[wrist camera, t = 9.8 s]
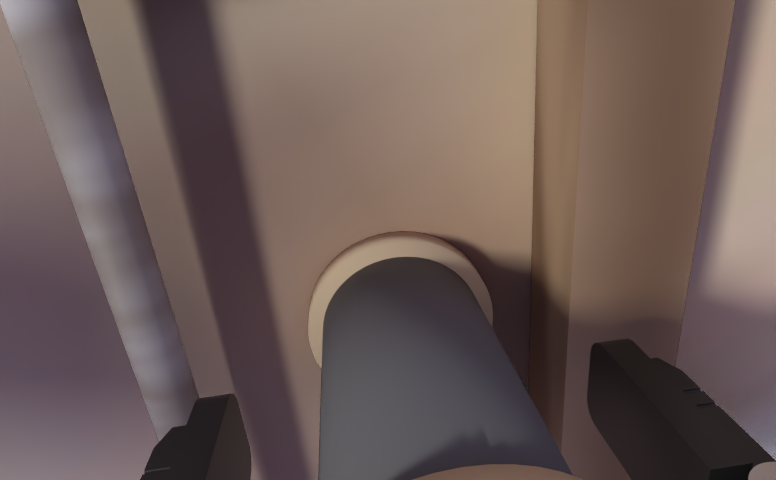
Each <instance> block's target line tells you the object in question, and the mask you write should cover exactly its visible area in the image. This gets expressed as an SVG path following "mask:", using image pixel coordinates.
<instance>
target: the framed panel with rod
mask: <svg viewBox="0 0 776 480" xmlns="http://www.w3.org/2000/svg"><path fill="white" fill-rule="evenodd" d="M0 5H1V7H2V10H3V13H4V16H5V18H6V21H7V24H8V27H9V30H10V32H11V35H12V38H13V41H14V43H15V46H16V49H17V52H18V54H19V57H20V60H21V63H22V65H23V68H24V71H25V74H26V76H27V79H28V82H29V85H30V87H31V90H32V93H33V96H34V98H35V101H36V104H37V107H38V109H39V112H40V115H41V118H42V121H43V123H44V126H45V129H46V132H47V134H48V137H49V140H50V143H51V145H52V148H53V151H54V154H55V156H56V159H57V162H58V165H59V167H60V170H61V173H62V176H63V178H64V181H65V184H66V187H67V189H68V192H69V195H70V198H71V201H72V203H73V206H74V209H75V212H76V214H77V217H78V220H79V223H80V225H81V228H82V231H83V234H84V236H85V239H86V242H87V245H88V247H89V250H90V253H91V256H92V258H93V261H94V264H95V267H96V269H97V272H98V275H99V278H100V280H101V283H102V286H103V289H104V292H105V294H106V297H107V300H108V303H109V305H110V308H111V311H112V314H113V316H114V319H115V322H116V325H117V327H118V330H119V333H120V336H121V338H122V341H123V344H124V347H125V349H126V352H127V355H128V358H129V360H130V363H131V366H132V369H133V371H134V374H135V377H136V380H137V383H138V385H139V388H140V391H141V394H142V396H143V399H144V402H145V405H146V407H147V410H148V413H149V416H150V418H151V421H152V424H153V427H154V429H155V432H156V435H157V438H158V440H159V442H160V441H161V439H162V438H163V437H164V436H165V435H166V434H167V433H168V432H169V431H170V429H171V428H172V427H177V426H184V425H187V422H188V419H189V417H190V414H191V411H192V409H193V406H194V403H195V401H196V400H197V399H199V396H198V393H197V390H196V386H195V383H194V380H193V377H192V373H191V370H190V367H189V363H188V360H187V357H186V354H185V350H184V347H183V344H182V341H181V337H180V334H179V331H178V328H177V324H176V321H175V318H174V315H173V311H172V308H171V305H170V301H169V298H168V295H167V292H166V288H165V285H164V282H163V279H162V275H161V272H160V269H159V266H158V262H157V259H156V256H155V253H154V249H153V246H152V243H151V239H150V236H149V233H148V230H147V226H146V223H145V220H144V217H143V213H142V210H141V207H140V204H139V200H138V197H137V194H136V191H135V187H134V184H133V181H132V177H131V174H130V171H129V168H128V164H127V161H126V158H125V155H124V151H123V148H122V145H121V142H120V138H119V135H118V132H117V129H116V125H115V122H114V119H113V116H112V112H111V109H110V106H109V102H108V99H107V96H106V93H105V89H104V86H103V83H102V80H101V76H100V73H99V70H98V67H97V63H96V60H95V57H94V54H93V50H92V47H91V44H90V40H89V37H88V34H87V31H86V27H85V24H84V21H83V18H82V14H81V11H80V8H79V5H78V1H77V0H0ZM734 6H735V0H538V11H537V54H536V97H535V139H534V182H533V224H532V267H531V310H530V352H529V396H530V398H531V399H532V401H533V403H534V405H535V407H536V408H537V410H538V412H539V414H540V416H541V418H542V419H543V421H544V423H545V425H546V427H547V429H548V430H549V432H550V434H551V436H552V438H553V439H554V441H555V443H556V445H557V447H558V449H559V450H560V452H561V454H562V456H563V458H564V459H565V461H566V463H567V465H568V467H569V469H570V470H571V472H572V474H573V476H575V477H578V478H581V479H583V480H631V478H630V477H629V475H628V474H627V472H626V471H625V469H624V468H623V466H622V465H621V463H620V462H619V460H618V459H617V457H616V456H615V454H614V453H613V452H612V450H611V449H610V447H609V446H608V444H607V443H606V441H605V440H604V438H603V437H602V435H601V434H600V432H599V431H598V429H597V428H596V426H595V425H594V423H593V421H592V418H591V416H590V413H589V409H588V404H587V389H588V377H589V365H590V352H591V348H592V345H593V344H594V343H598V342H605V341H612V340H619V339H626V338H628V339H631V340H632V341H633V342H635V343H636V344H637V345H638V347H639V348H640V349H641V350H642V351H643V352H644V353H645V354H646V355H647V356H648V357H649V358H650V359H651V358H659V359H661V360H663V361H665V362H667V363H669V364H670V365H672V366H674V367H675V363H676V357H677V351H678V345H679V339H680V333H681V327H682V321H683V315H684V309H685V302H686V296H687V290H688V284H689V278H690V272H691V266H692V260H693V254H694V248H695V242H696V236H697V230H698V224H699V218H700V212H701V206H702V199H703V193H704V187H705V181H706V175H707V169H708V163H709V157H710V151H711V145H712V139H713V133H714V127H715V121H716V115H717V109H718V103H719V96H720V90H721V84H722V78H723V72H724V66H725V60H726V54H727V48H728V42H729V36H730V30H731V24H732V18H733V12H734Z"/></svg>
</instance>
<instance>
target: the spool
mask: <svg viewBox="0 0 776 480" xmlns="http://www.w3.org/2000/svg"><path fill="white" fill-rule="evenodd" d="M492 326H493V308H492V302H491V298H490V295H489V292H488V290H487V288H486V285H485V284H484V282H483V280H482V279H481V277H480V276H479V274H478V272H477V271H476V269H475V267H474V266H473V264H472V263H471V262H470V261H469V259H468V258H467V257H466V256H465V255H464V254H463V253H462V252H461V251H459V250H458V249H457V248H456V247H454V246H453V245H451V244H450V243H448V242H446V241H444V240H442V239H440V238H437V237H434V236H431V235H428V234H423V233H418V232H407V231H400V232H388V233H383V234H378V235H375V236H372V237H369V238H366V239H364V240H361V241H359V242H357V243H355V244H353V245H352V246H350V247H349V248H347V249H345V250H344V251H343V252H341V253H340V254H339V255H338V256H337V257H335V258H334V259H333V260H332V262H331V263H330V264H329V265H328V266H327V267H326V268H325V270H324V271H323V273H322V274H321V275H320V277H319V279H318V281H317V283H316V285H315V288H314V290H313V293H312V297H311V302H310V309H309V321H308V335H309V343H310V346H311V350H312V353H313V355H314V357H315V360H316V362H317V363H318V365H319V366H320V368H321V370H322V373H321V406H320V440H319V473H318V480H583V479H581V478H578V477H575V476H573V474H572V472H571V470H570V469H569V467H568V465H567V463H566V461H565V459H564V458H563V456H562V454H561V452H560V450H559V449H558V447H557V445H556V443H555V441H554V439H553V438H552V436H551V434H550V432H549V430H548V429H547V427H546V425H545V423H544V421H543V419H542V418H541V416H540V414H539V412H538V410H537V408H536V407H535V405H534V403H533V401H532V399H531V398H530V396H529V394H528V392H527V390H526V388H525V387H524V385H523V383H522V381H521V379H520V378H519V376H518V374H517V372H516V370H515V368H514V367H513V365H512V363H511V361H510V359H509V358H508V356H507V354H506V352H505V350H504V348H503V347H502V345H501V343H500V341H499V339H498V338H497V336H496V334H495V332H494V330H493V328H492Z"/></svg>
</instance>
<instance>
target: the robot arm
mask: <svg viewBox="0 0 776 480" xmlns="http://www.w3.org/2000/svg"><path fill="white" fill-rule="evenodd" d="M587 404H588V409H589V413H590V416H591V418H592V421H593V423H594V425H595V426H596V428H597V429H598V431H599V432H600V434H601V435H602V437H603V438H604V440H605V441H606V443H607V444H608V446H609V447H610V449H611V450H612V452H613V453H614V454H615V456H616V457H617V459H618V460H619V462H620V463H621V465H622V466H623V468H624V469H625V471H626V472H627V474H628V475H629V477H630V478H631V480H776V461H775V460H774V459H773V458H772V457H771V456H770V455H769V454H768V453H767V452H766V451H765V450H764V449H763V448H762V447H761V446H760V445H759V444H758V443H757V442H756V441H755V440H754V439H752V438H751V437H750V436H749V435H748V434H747V433H746V432H745V431H744V430H743V429H742V428H741V427H740V426H739V425H738V424H737V423H736V422H735V421H734V420H733V419H732V418H731V417H730V416H729V415H727V414H726V413H725V412H724V411H723V410H722V409H721V408H720V407H719V406H716V405H715V402H714V401H713V400H712V399H711V398H710V397H709V396H708V395H707V394H706V393H705V392H703V391H702V392H701V391H700V388H699V387H698V386H697V385H696V384H695V383H694V382H693V381H692V380H691V379H690V378H689V377H688V376H687V375H686V374H685V373H684V372H683V371H681V370H679V369H678V368H676V367H674V366H672V365H670V364H669V363H667V362H665V361H663V360H661V359H659V358H651V359H650V358H649V357H648V356H647V355H646V354H645V353H644V352H643V351H642V350H641V349H640V348H639V347H638V345H637V344H636V343H635V342H633V341H632V340H631V339H628V338H626V339H619V340H612V341H605V342H598V343H594V344H593V345H592V348H591V352H590V365H589V377H588V389H587ZM250 476H251V452H250V446H249V442H248V439H247V435H246V431H245V428H244V424H243V420H242V416H241V413H240V409H239V405H238V402H237V399H236V397H235V395H234V394H227V395H220V396H213V397H206V398H199V399H197V400H196V401H195V403H194V406H193V409H192V411H191V414H190V417H189V419H188V422H187V425H184V426H177V427H172V428H171V429H170V431H169V432H168V433H167V434H166V435H165V436H164V437H163V438H162V439H161V441H160V442H159V443H158V444H157V445H156V446H155V447H154V449H153V451H152V454H151V456H150V458H149V461H148V463H147V465H146V468H145V474H144V475H142V477H141V479H140V480H250Z"/></svg>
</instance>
